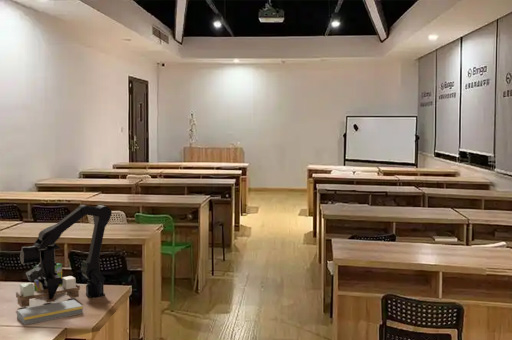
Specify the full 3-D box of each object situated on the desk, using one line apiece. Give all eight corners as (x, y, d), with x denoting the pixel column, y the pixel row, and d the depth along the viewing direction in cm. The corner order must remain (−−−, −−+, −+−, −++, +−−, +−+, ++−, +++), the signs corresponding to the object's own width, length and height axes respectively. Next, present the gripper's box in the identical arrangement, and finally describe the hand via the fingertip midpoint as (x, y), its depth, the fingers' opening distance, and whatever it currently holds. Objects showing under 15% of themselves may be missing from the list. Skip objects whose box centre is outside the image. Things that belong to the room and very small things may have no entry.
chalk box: (52, 293, 243) (51, 260, 242) (33, 292, 245) (32, 259, 244) (63, 287, 252) (62, 255, 251) (45, 286, 254) (44, 254, 253)
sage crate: (30, 291, 227) (30, 282, 226) (34, 294, 223) (33, 285, 222) (20, 293, 224) (20, 284, 224) (23, 296, 220) (23, 286, 220)
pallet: (74, 293, 239) (74, 282, 238) (79, 296, 234) (79, 285, 234) (16, 303, 224) (16, 292, 224) (20, 307, 219) (20, 295, 219)
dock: (73, 306, 225) (73, 299, 225) (83, 313, 217) (82, 306, 217) (17, 317, 212) (16, 310, 212) (24, 325, 204) (24, 317, 204)
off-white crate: (71, 284, 237) (71, 275, 237) (75, 287, 233) (75, 278, 233) (62, 286, 235) (62, 277, 234) (66, 289, 231) (66, 279, 230)
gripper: (21, 258, 230) (22, 295, 231) (34, 268, 215) (35, 307, 217) (48, 255, 237) (49, 290, 238) (62, 263, 222) (63, 301, 223)
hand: (48, 297), depth 229 cm, fingers closed on pallet, 6 cm apart
